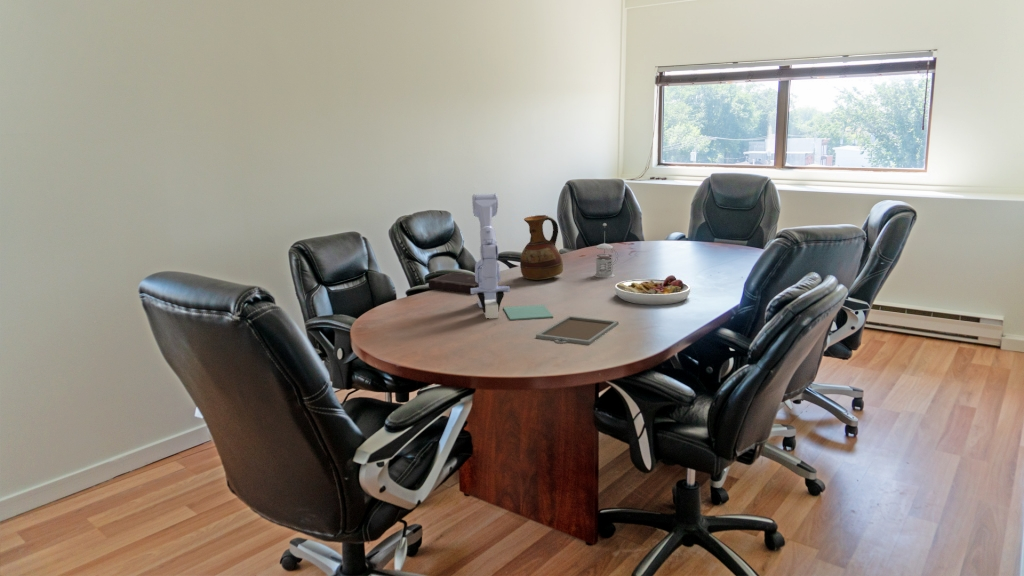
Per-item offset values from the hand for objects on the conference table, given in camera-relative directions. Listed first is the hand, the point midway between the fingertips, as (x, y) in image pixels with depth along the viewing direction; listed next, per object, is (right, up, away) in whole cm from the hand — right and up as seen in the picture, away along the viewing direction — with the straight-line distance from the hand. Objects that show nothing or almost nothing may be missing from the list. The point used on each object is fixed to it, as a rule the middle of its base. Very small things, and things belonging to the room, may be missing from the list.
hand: (490, 311), depth 258 cm
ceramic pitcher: (+22, +13, +66) cm, 71 cm away
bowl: (+65, +5, +23) cm, 69 cm away
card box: (0, -1, 0) cm, 1 cm away
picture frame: (+30, -7, -24) cm, 39 cm away
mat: (+14, -1, +2) cm, 14 cm away
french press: (+53, +15, +69) cm, 88 cm away
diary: (-14, +8, +49) cm, 52 cm away
